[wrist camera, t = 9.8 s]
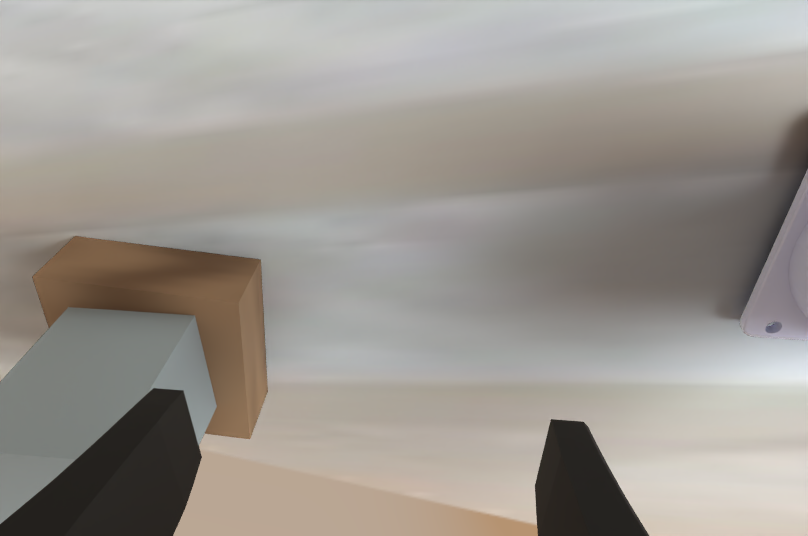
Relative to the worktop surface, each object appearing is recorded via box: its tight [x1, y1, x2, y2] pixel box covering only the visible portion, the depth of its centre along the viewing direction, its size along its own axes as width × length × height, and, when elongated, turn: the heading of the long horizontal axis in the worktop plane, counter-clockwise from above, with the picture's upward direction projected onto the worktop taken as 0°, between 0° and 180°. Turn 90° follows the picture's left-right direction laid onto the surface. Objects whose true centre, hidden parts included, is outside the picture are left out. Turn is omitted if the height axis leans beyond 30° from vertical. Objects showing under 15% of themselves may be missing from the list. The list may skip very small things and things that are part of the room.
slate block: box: [0, 307, 217, 524], centre depth 19 cm, size 4×4×6 cm
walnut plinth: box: [32, 236, 268, 439], centre depth 23 cm, size 7×7×3 cm
